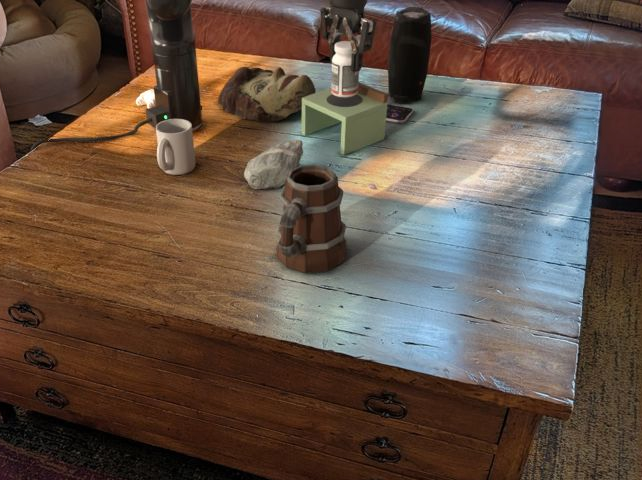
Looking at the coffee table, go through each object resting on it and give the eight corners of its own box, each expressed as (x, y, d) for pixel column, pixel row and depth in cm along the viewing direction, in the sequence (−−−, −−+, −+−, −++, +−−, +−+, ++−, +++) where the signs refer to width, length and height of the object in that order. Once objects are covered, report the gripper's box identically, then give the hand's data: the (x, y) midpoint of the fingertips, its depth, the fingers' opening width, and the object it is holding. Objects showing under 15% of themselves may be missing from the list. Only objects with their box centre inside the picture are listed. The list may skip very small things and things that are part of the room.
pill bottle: (360, 89, 156) (363, 41, 149) (354, 99, 152) (356, 50, 145) (334, 86, 157) (336, 38, 150) (327, 96, 153) (329, 48, 146)
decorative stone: (290, 194, 142) (290, 166, 138) (240, 190, 144) (238, 162, 140) (303, 164, 151) (303, 137, 147) (256, 160, 153) (254, 133, 149)
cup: (202, 163, 153) (198, 122, 147) (177, 184, 146) (171, 142, 140) (173, 157, 155) (168, 116, 149) (147, 177, 148) (140, 135, 142)
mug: (296, 230, 132) (296, 152, 122) (357, 246, 127) (362, 168, 117) (252, 274, 122) (248, 193, 112) (316, 294, 117) (318, 212, 107)
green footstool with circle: (344, 155, 154) (346, 109, 147) (301, 133, 162) (301, 89, 156) (384, 138, 159) (388, 93, 153) (341, 119, 168) (343, 75, 161)
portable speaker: (430, 101, 174) (441, 15, 161) (393, 106, 172) (401, 19, 159) (415, 88, 180) (424, 4, 167) (380, 93, 178) (386, 8, 165)
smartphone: (354, 98, 174) (414, 108, 169) (354, 100, 175) (414, 111, 170) (342, 110, 170) (403, 121, 164) (342, 112, 170) (403, 123, 165)
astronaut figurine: (129, 103, 177) (127, 90, 175) (165, 88, 184) (164, 76, 182) (152, 112, 173) (151, 99, 171) (189, 96, 180) (188, 84, 177)
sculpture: (281, 88, 157) (198, 64, 169) (282, 131, 163) (202, 105, 175) (338, 61, 169) (256, 41, 181) (336, 102, 175) (258, 80, 187)
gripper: (389, -19, 137) (382, 71, 148) (338, -33, 145) (335, 53, 157) (361, -11, 134) (356, 81, 145) (310, -26, 142) (308, 62, 153)
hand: (345, 66), depth 151 cm, fingers closed on pill bottle, 5 cm apart
